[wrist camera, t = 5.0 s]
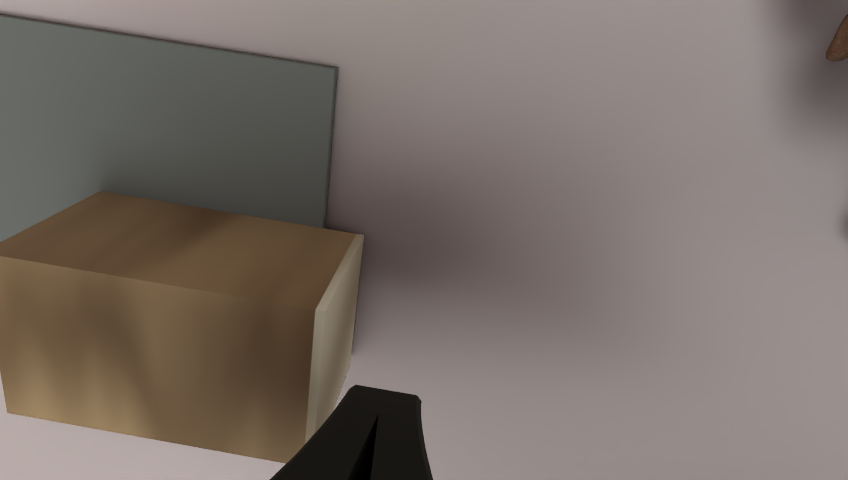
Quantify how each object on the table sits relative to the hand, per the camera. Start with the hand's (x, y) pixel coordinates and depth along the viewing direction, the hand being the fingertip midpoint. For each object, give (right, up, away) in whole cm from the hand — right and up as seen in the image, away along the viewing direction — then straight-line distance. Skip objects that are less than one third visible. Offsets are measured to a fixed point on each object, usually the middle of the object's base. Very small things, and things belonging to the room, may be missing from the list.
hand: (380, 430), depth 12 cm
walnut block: (-1, +1, +2) cm, 3 cm away
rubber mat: (-6, +3, +5) cm, 9 cm away
